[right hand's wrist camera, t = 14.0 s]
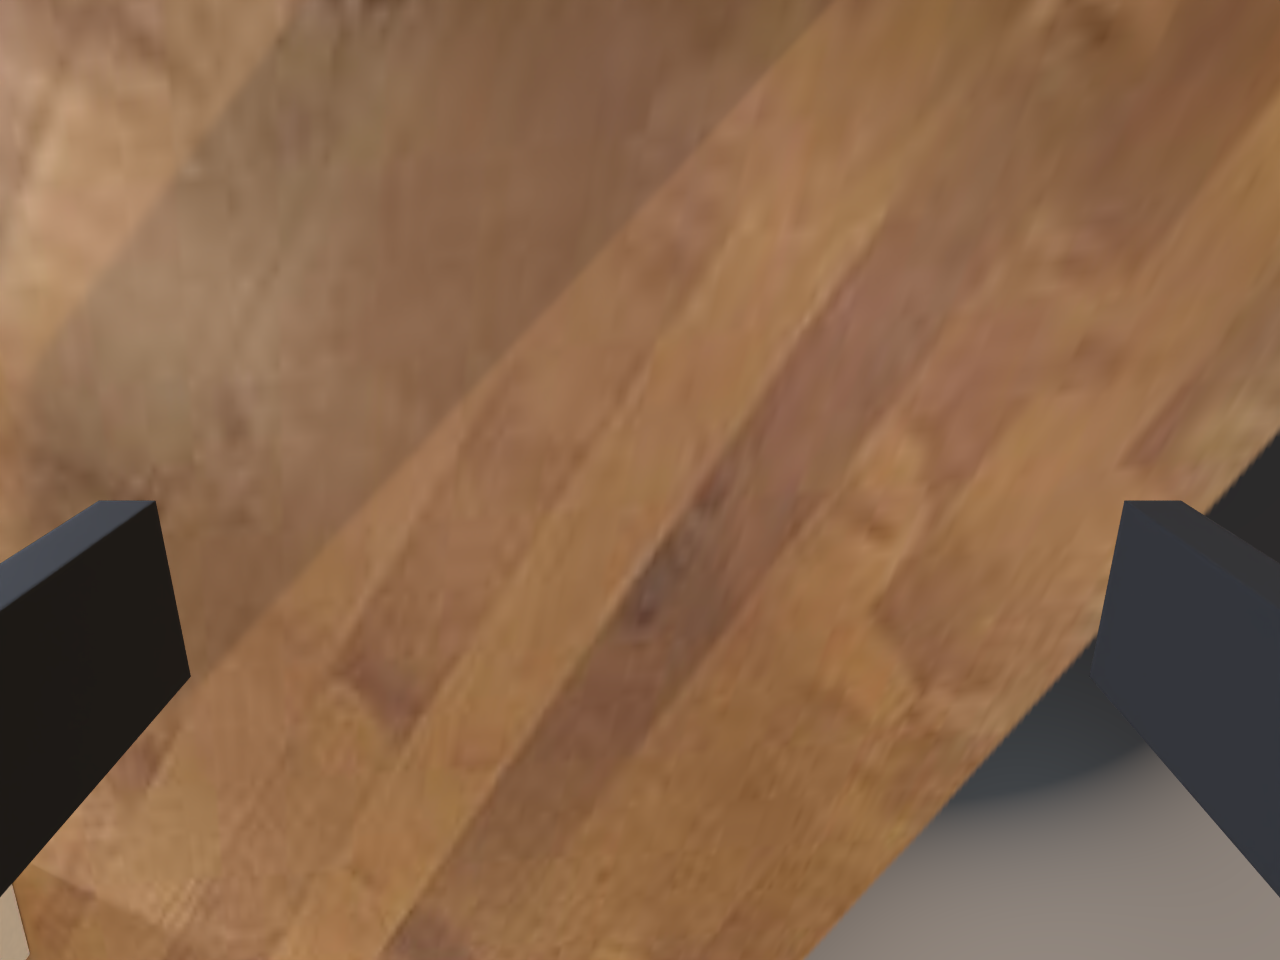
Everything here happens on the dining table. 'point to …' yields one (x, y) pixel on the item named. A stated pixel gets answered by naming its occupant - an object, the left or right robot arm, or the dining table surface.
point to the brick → (11, 929)
